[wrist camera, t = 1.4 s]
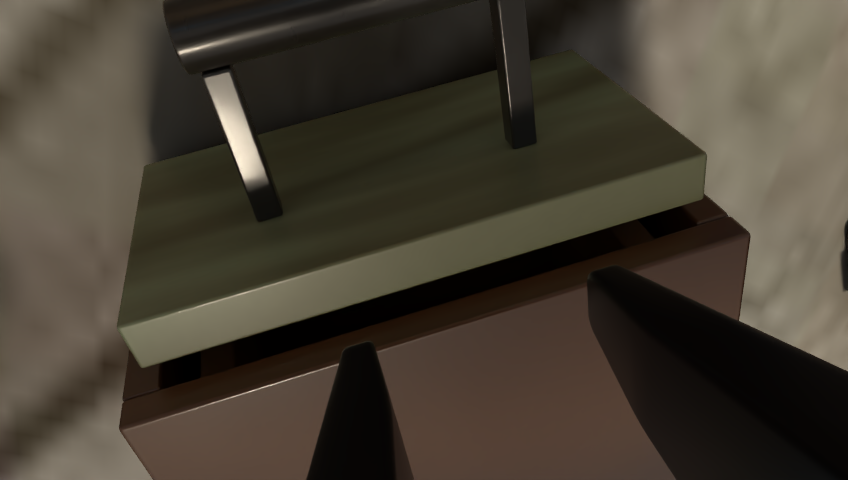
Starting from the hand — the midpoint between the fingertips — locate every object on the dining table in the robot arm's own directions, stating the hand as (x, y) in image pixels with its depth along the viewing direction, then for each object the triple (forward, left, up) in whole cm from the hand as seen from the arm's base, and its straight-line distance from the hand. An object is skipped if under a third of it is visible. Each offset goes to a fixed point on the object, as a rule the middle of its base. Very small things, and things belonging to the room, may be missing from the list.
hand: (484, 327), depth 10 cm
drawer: (+1, +5, -11) cm, 12 cm away
